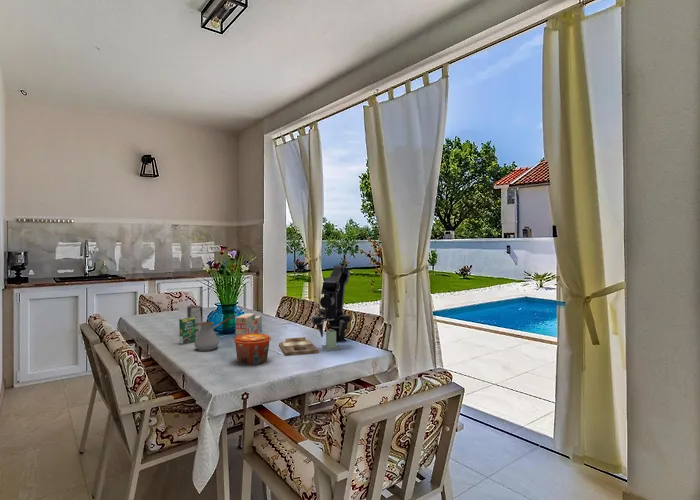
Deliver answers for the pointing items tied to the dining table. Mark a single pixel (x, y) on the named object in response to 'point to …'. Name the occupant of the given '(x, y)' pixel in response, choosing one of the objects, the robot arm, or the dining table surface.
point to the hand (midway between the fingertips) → (331, 336)
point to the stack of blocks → (248, 324)
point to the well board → (304, 350)
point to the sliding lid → (296, 342)
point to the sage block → (331, 338)
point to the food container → (252, 348)
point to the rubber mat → (330, 348)
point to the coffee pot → (208, 336)
